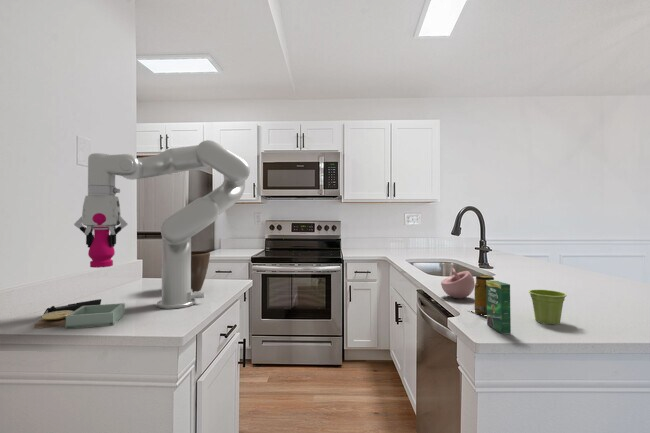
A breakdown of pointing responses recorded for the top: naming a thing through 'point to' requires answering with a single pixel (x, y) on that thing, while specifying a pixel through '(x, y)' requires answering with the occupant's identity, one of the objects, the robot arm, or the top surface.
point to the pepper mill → (100, 244)
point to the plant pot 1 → (198, 268)
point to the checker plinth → (50, 323)
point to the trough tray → (95, 316)
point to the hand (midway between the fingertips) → (101, 246)
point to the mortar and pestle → (458, 284)
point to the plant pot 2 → (547, 305)
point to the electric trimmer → (73, 306)
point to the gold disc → (56, 315)
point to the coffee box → (498, 306)
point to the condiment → (481, 294)
